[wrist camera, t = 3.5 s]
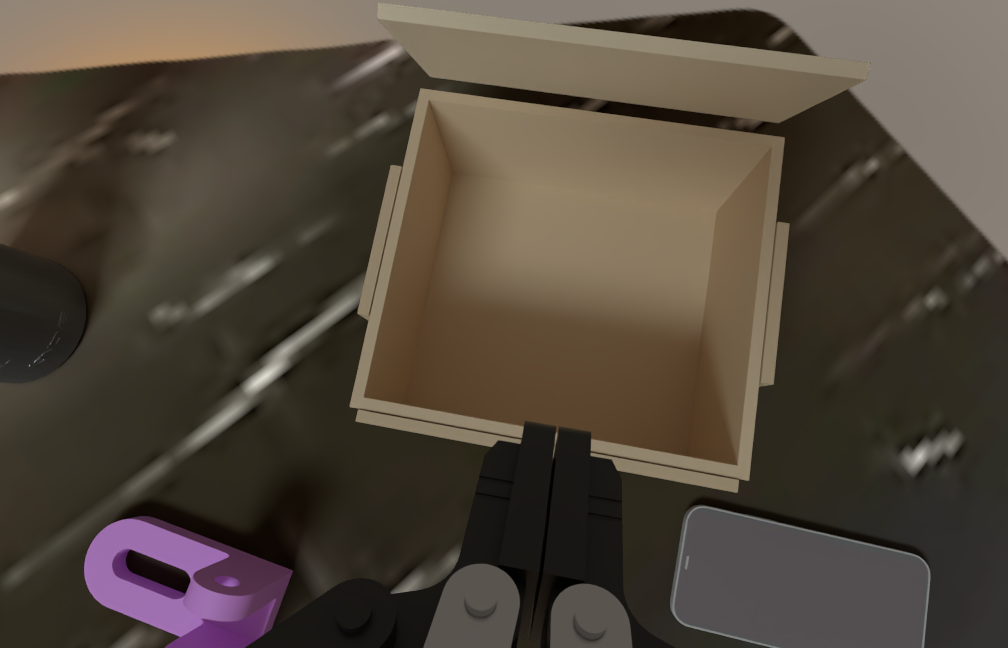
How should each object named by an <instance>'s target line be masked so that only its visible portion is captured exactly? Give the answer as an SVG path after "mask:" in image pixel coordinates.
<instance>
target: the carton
mask: <svg viewBox="0 0 1008 648" xmlns="http://www.w3.org/2000/svg"><path fill="white" fill-rule="evenodd" d="M784 141H785V137H777V136H770V135H762V134H755V133H747V132H740V131H733V130H725V129H718V128H710V127H703V126H695V125H688V124H681V123H673V122H666V121H658V120H651V119H643V118H636V117H629V116H621V115H614V114H606V113H599V112H591V111H584V110H577V109H569V108H562V107H554V106H547V105H539V104H532V103H525V102H517V101H510V100H502V99H495V98H487V97H480V96H473V95H465V94H458V93H450V92H443V91H435V90H428V89H420V93H419V97H418V102H417V106H416V111H415V115H414V120H413V124H412V129H411V133H410V138H409V142H408V147H407V151H406V156H405V160H404V165H403V168H402V167H401V166H394V165H391V167H390V172H389V176H388V180H387V185H386V189H385V194H384V198H383V202H382V207H381V211H380V216H379V220H378V225H377V229H376V233H375V238H374V242H373V247H372V251H371V255H370V260H369V264H368V269H367V273H366V278H365V282H364V286H363V291H362V295H361V300H360V304H359V308H358V313H357V314H359V315H361V316H362V317H364V318H365V319H367V320H369V322H368V326H367V331H366V335H365V340H364V344H363V349H362V353H361V358H360V362H359V367H358V371H357V376H356V380H355V385H354V389H353V394H352V398H351V403H350V407H353V408H358V409H363V410H358V413H357V417H356V422H361V423H367V424H372V425H377V426H383V427H388V428H393V429H399V430H404V431H410V432H415V433H420V434H426V435H431V436H436V437H442V438H447V439H452V440H458V441H463V442H468V443H474V444H479V445H484V446H490V447H493V446H494V444H495V443H496V442H497V441H498V440H501V441H507V442H513V443H518V444H521V439H522V434H523V428H524V423H525V421H530V422H536V423H542V424H548V425H554V426H556V435H555V444H554V451H555V445H556V440H557V434H558V429H559V426H560V427H566V428H572V429H578V430H584V431H590V432H591V456H594V457H600V458H606V459H612V461H613V463H614V465H615V467H616V469H617V470H618V471H624V472H629V473H634V474H640V475H645V476H650V477H656V478H661V479H666V480H672V481H677V482H683V483H688V484H693V485H699V486H704V487H709V488H715V489H720V490H725V491H731V492H736V493H738V484H739V480H737V479H742V480H748V481H749V475H750V465H751V456H752V446H753V437H754V427H755V418H756V408H757V398H758V389H759V387H761V386H767V385H772V384H774V374H775V364H776V354H777V344H778V334H779V324H780V314H781V305H782V295H783V285H784V275H785V265H786V255H787V245H788V235H789V225H790V224H789V223H782V222H777V223H776V217H777V208H778V198H779V188H780V179H781V169H782V160H783V150H784ZM368 410H369V411H368ZM553 456H554V452H553ZM730 477H731V478H730ZM733 478H737V479H733Z"/></svg>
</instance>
